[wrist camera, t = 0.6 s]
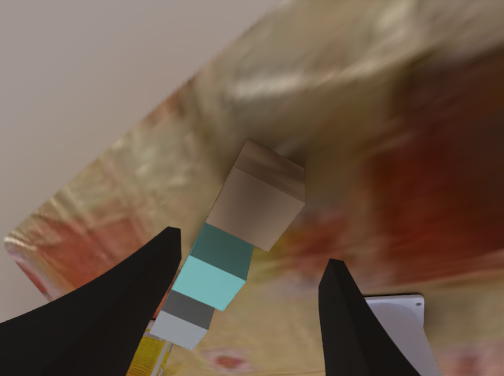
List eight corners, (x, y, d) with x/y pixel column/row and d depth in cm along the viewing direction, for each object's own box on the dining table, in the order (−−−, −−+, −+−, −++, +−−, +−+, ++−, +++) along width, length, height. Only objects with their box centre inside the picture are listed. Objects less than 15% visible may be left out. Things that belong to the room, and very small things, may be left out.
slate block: (220, 287, 29) (208, 330, 25) (206, 308, 32) (192, 350, 28) (180, 269, 29) (160, 310, 25) (168, 292, 31) (149, 333, 27)
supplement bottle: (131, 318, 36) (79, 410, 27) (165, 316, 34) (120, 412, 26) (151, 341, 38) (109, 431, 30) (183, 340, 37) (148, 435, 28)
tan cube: (304, 167, 20) (305, 203, 16) (273, 211, 23) (268, 252, 19) (247, 137, 20) (233, 166, 15) (222, 185, 22) (205, 222, 18)
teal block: (254, 238, 25) (246, 281, 21) (234, 268, 27) (222, 311, 23) (207, 216, 24) (189, 255, 20) (191, 248, 27) (171, 288, 23)
